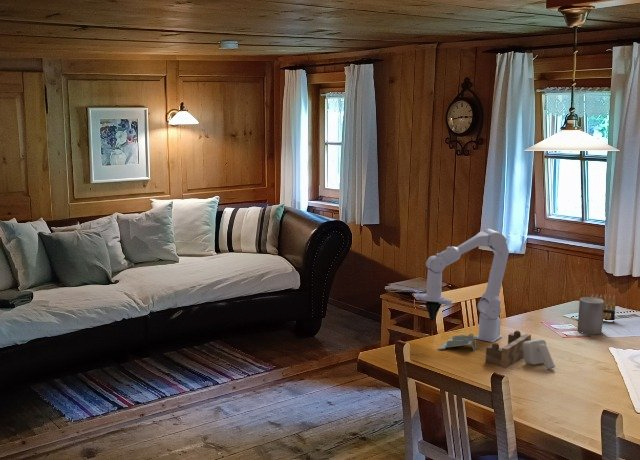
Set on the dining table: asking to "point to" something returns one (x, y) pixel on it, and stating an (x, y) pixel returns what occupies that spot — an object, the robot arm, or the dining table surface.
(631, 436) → the dining table surface
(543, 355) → the grey chunky block
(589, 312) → the pillar candle
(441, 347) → the metal bracket
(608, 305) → the ammunition clip
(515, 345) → the brown crenellated block
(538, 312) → the dining table surface
